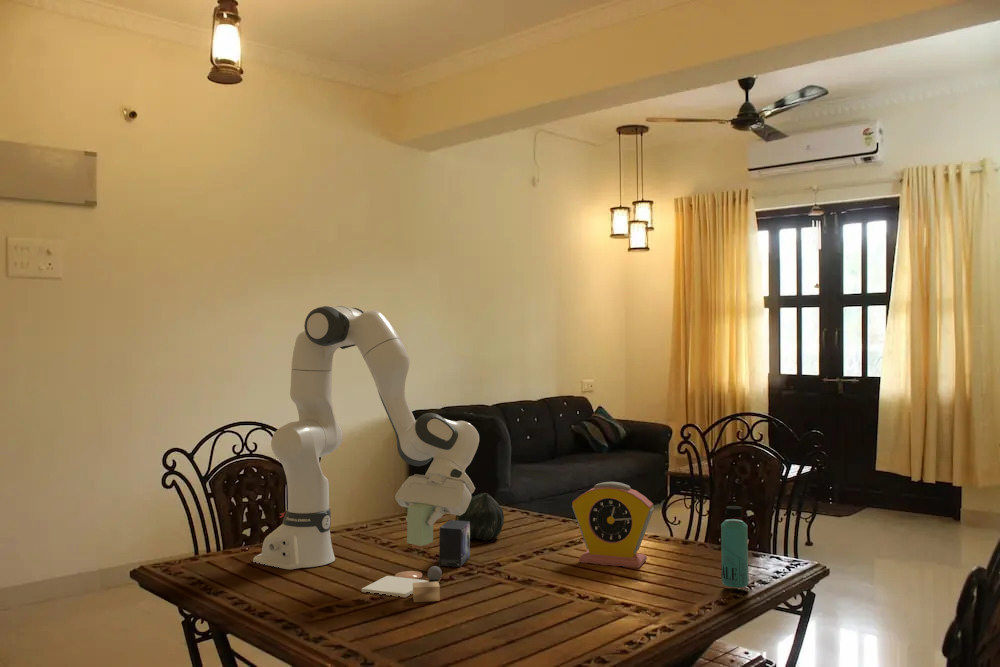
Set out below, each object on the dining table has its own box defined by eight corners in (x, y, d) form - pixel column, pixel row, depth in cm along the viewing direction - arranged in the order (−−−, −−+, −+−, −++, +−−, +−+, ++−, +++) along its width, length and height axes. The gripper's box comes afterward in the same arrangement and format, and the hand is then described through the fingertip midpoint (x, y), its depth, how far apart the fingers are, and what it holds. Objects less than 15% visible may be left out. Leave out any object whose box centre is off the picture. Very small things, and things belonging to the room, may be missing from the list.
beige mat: (361, 591, 197) (361, 588, 197) (387, 578, 208) (387, 575, 208) (405, 597, 192) (405, 594, 192) (429, 583, 203) (429, 580, 203)
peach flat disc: (389, 580, 208) (389, 577, 208) (403, 573, 215) (403, 570, 215) (414, 582, 206) (414, 579, 206) (427, 575, 212) (427, 572, 212)
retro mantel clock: (569, 562, 223) (568, 483, 224) (578, 554, 232) (578, 477, 232) (649, 569, 215) (648, 487, 215) (656, 561, 223) (655, 482, 224)
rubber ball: (425, 581, 205) (424, 567, 205) (431, 578, 209) (431, 563, 209) (437, 583, 204) (437, 568, 204) (444, 579, 207) (444, 565, 207)
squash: (454, 514, 261) (457, 484, 251) (500, 515, 262) (505, 485, 253) (454, 552, 250) (458, 523, 240) (503, 553, 252) (508, 523, 242)
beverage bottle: (749, 587, 198) (748, 504, 199) (748, 595, 192) (747, 509, 192) (722, 585, 201) (721, 503, 201) (720, 592, 194) (719, 508, 195)
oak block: (413, 602, 189) (413, 587, 189) (412, 597, 193) (412, 582, 193) (439, 601, 190) (439, 586, 190) (438, 596, 194) (438, 581, 194)
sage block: (407, 543, 199) (407, 506, 200) (418, 539, 203) (419, 503, 203) (421, 546, 197) (422, 508, 197) (432, 542, 201) (433, 505, 201)
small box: (461, 568, 218) (461, 528, 218) (438, 566, 219) (438, 527, 220) (471, 557, 228) (471, 520, 229) (448, 556, 230) (448, 519, 230)
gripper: (405, 466, 212) (380, 510, 203) (470, 474, 201) (446, 521, 192) (416, 480, 215) (391, 524, 207) (480, 489, 204) (457, 536, 196)
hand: (418, 523), depth 200 cm, fingers closed on sage block, 4 cm apart
